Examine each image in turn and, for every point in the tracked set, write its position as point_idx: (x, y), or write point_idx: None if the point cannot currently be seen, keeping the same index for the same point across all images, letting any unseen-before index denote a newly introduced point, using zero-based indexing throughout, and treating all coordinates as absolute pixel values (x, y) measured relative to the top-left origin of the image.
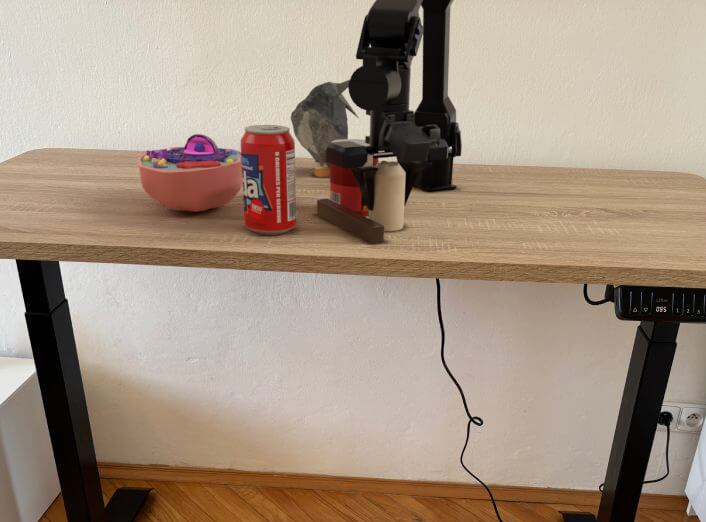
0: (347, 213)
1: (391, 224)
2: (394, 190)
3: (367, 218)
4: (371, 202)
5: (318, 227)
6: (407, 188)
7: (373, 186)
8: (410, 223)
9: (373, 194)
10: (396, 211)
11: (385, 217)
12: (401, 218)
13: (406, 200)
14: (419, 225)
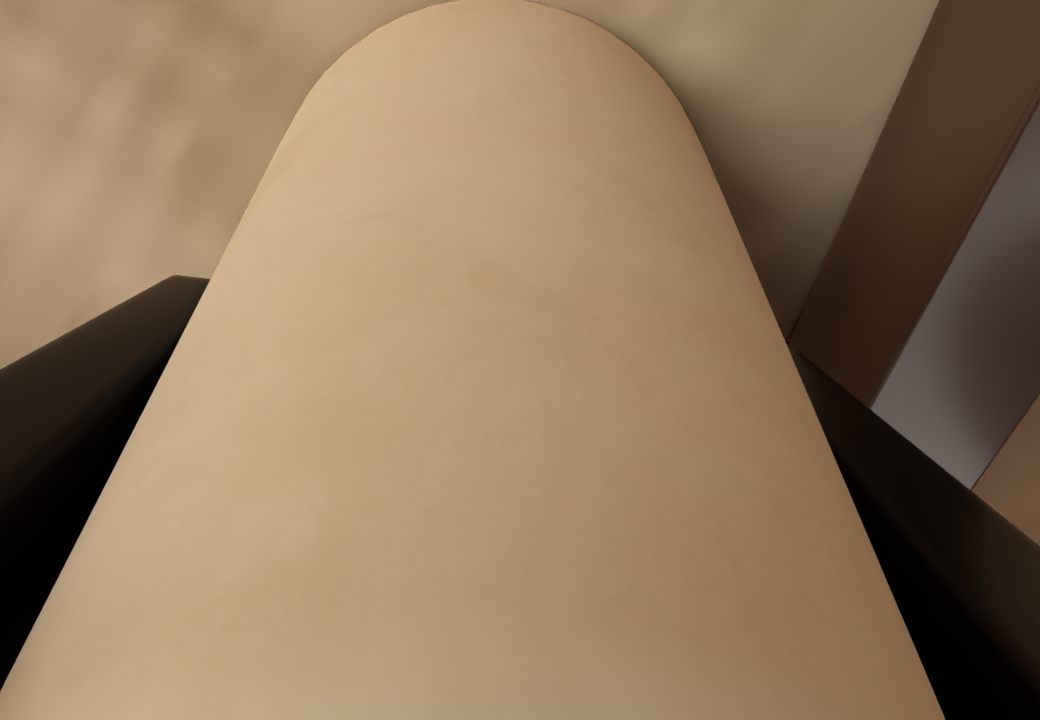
0: (968, 458)
1: (590, 41)
2: (617, 329)
3: (1023, 170)
4: (850, 410)
5: (1010, 496)
6: (48, 434)
7: (996, 621)
8: (126, 172)
9: (893, 493)
10: (518, 95)
11: (677, 134)
12: (392, 59)
13: (133, 308)
14: (47, 38)
